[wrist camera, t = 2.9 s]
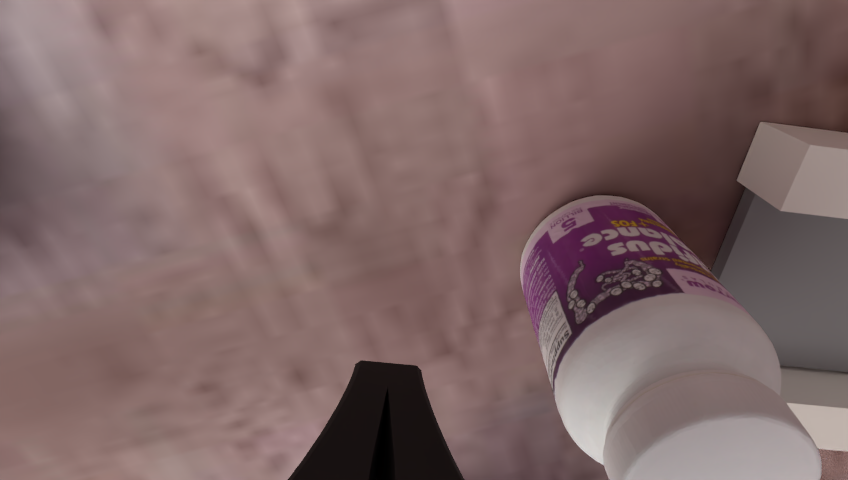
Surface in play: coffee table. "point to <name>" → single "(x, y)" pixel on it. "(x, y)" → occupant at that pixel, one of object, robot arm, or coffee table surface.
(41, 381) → the coffee table surface
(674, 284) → the pill bottle
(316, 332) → the coffee table surface
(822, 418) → the cradle
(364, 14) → the coffee table surface
